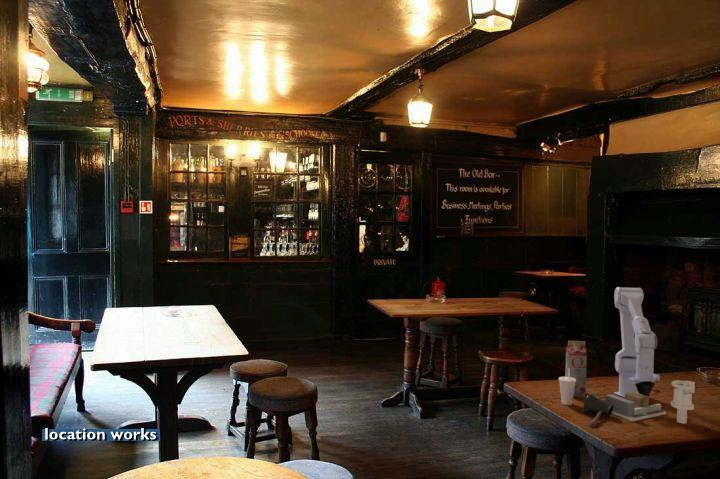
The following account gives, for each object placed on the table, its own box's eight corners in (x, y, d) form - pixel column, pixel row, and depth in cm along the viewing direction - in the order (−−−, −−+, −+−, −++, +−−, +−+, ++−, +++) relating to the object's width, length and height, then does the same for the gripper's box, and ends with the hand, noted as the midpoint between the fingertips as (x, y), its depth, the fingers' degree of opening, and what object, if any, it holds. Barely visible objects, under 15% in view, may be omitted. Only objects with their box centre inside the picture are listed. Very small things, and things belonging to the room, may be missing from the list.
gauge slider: (633, 404, 208) (634, 391, 207) (656, 412, 199) (656, 399, 199) (624, 406, 205) (625, 393, 205) (647, 414, 197) (647, 400, 197)
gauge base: (634, 403, 213) (635, 388, 213) (665, 414, 201) (666, 398, 201) (601, 409, 205) (602, 393, 205) (632, 421, 193) (632, 404, 193)
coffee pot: (589, 408, 206) (612, 417, 200) (569, 426, 193) (593, 437, 187) (592, 390, 204) (615, 398, 198) (572, 407, 191) (596, 417, 186)
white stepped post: (690, 427, 189) (692, 384, 188) (667, 421, 193) (669, 380, 193) (695, 421, 194) (696, 380, 193) (673, 416, 199) (674, 376, 198)
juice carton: (585, 397, 219) (587, 343, 218) (568, 396, 220) (569, 342, 220) (581, 392, 226) (583, 339, 225) (564, 391, 227) (566, 338, 226)
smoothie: (576, 406, 208) (577, 370, 207) (559, 405, 209) (560, 369, 209) (573, 401, 214) (574, 366, 214) (556, 400, 215) (557, 365, 215)
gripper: (641, 370, 198) (640, 406, 199) (667, 365, 204) (666, 401, 205) (624, 365, 204) (623, 400, 205) (650, 361, 211) (649, 396, 211)
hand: (643, 400), depth 205 cm, fingers closed
